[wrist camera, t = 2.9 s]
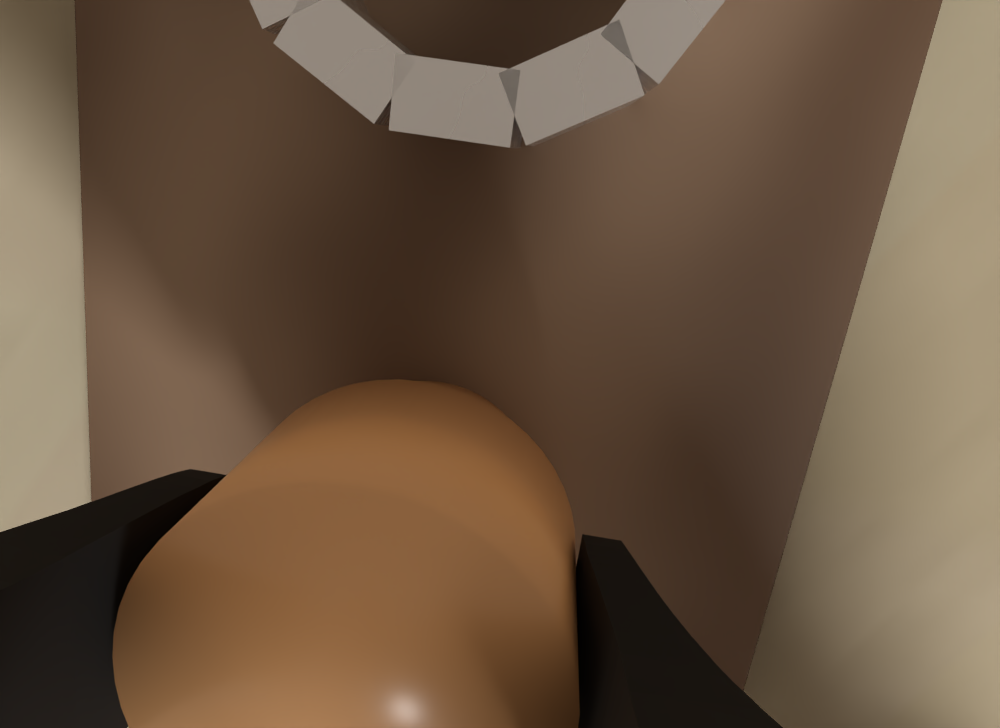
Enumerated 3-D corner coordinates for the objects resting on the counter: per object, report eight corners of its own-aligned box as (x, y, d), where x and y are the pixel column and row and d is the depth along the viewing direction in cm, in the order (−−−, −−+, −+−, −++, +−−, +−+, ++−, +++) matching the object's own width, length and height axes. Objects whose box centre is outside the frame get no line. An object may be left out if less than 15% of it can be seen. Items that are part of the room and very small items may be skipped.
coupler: (596, 365, 13) (621, 528, 8) (549, 620, 15) (539, 913, 9) (300, 319, 14) (106, 443, 8) (285, 575, 15) (116, 834, 9)
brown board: (1049, -460, 10) (1089, -509, 9) (725, 695, 16) (733, 722, 15) (90, -561, 11) (54, -614, 10) (116, 589, 17) (95, 610, 16)
